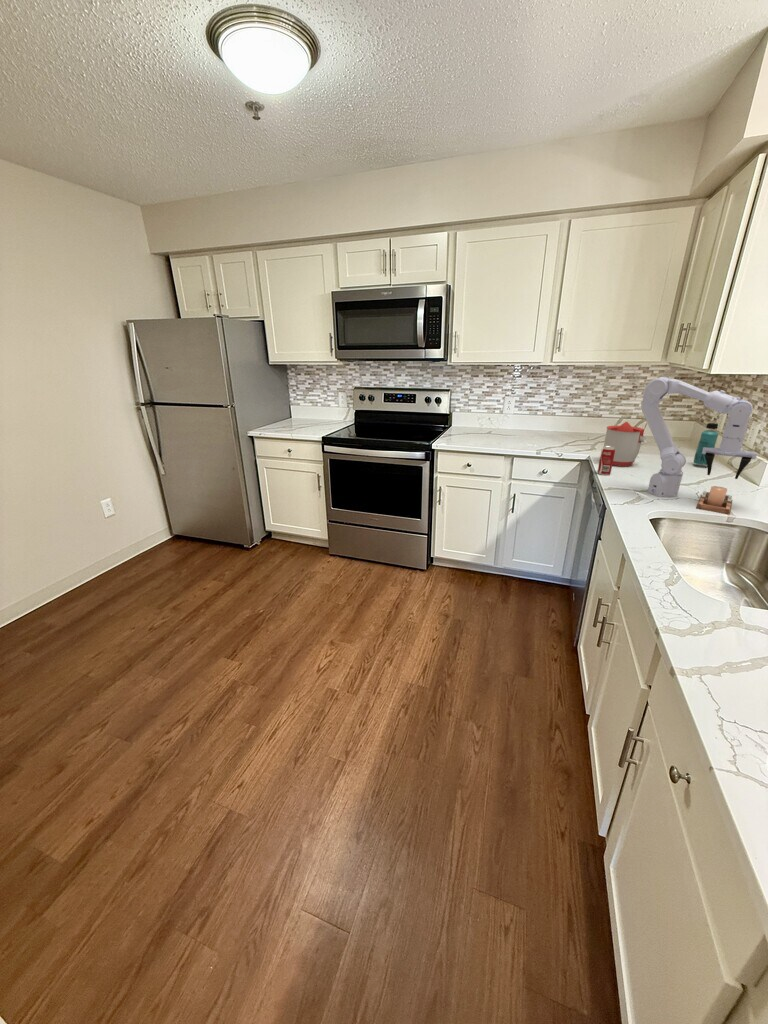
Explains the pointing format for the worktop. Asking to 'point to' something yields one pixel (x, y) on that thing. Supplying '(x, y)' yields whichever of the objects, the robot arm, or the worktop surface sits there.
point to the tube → (716, 496)
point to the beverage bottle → (706, 443)
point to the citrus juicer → (624, 443)
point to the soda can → (606, 460)
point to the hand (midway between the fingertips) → (722, 476)
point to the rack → (724, 509)
